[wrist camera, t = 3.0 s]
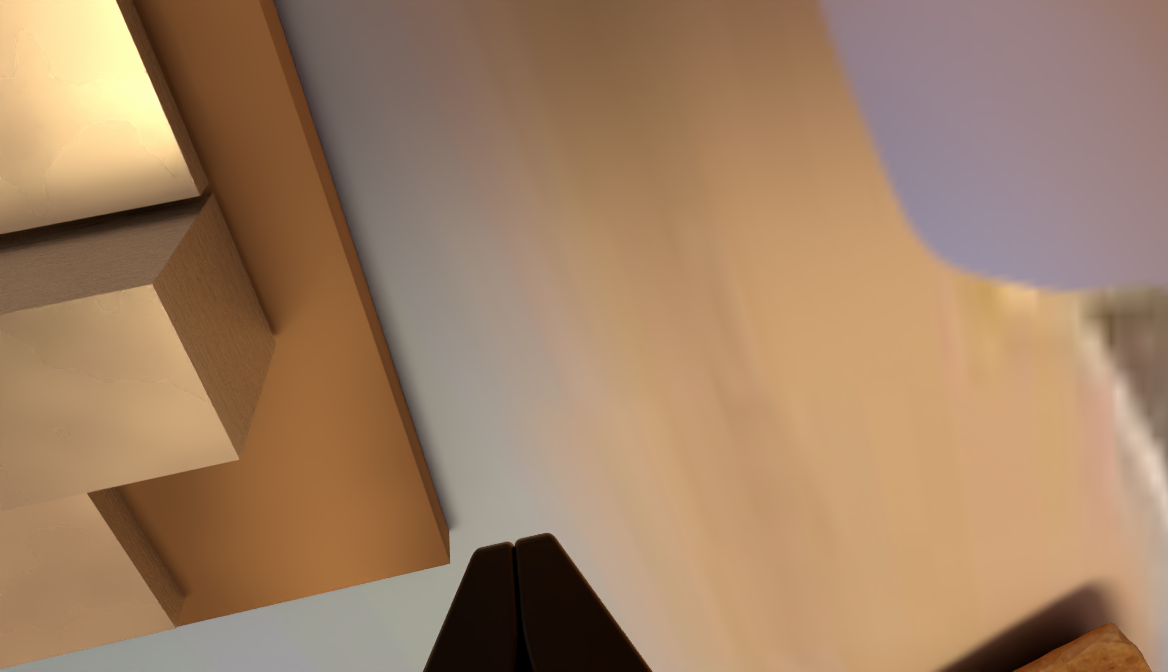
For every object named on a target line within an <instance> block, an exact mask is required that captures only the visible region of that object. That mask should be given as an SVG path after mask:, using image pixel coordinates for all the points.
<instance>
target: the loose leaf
mask: <svg viewBox="0 0 1168 672" xmlns="http://www.w3.org/2000/svg"><path fill="white" fill-rule="evenodd" d="M208 184H209V182H208V180H207V177H206V175H205V173H204V170H203V168H202V165H201V163H200V161H199V158H198V156H197V154H196V151H195V149H194V146H193V144H192V142H191V139H190V137H189V135H188V132H187V130H186V127H185V125H184V123H183V120H182V118H181V116H180V113H179V111H178V108H177V106H176V104H175V101H174V99H173V97H172V94H171V92H170V89H169V87H168V85H167V82H166V80H165V78H164V75H163V73H162V70H161V68H160V66H159V63H158V61H157V59H156V56H155V54H154V51H153V49H152V47H151V44H150V42H149V40H148V37H147V35H146V32H145V30H144V28H143V25H142V23H141V21H140V18H139V16H138V13H137V11H136V9H135V6H134V4H133V2H132V0H0V512H1V511H5V510H10V509H15V508H19V507H24V506H28V505H33V504H38V503H42V502H47V501H51V500H56V499H61V498H65V497H70V496H74V495H79V494H84V493H88V492H93V491H97V490H102V489H107V488H111V487H116V486H120V485H125V484H130V483H134V482H139V481H143V480H148V479H153V478H157V477H162V476H166V475H171V474H176V473H180V472H185V471H189V470H194V469H199V468H203V467H208V466H213V465H217V464H222V463H226V462H231V461H236V460H240V457H241V454H242V451H243V448H244V445H245V442H246V438H247V435H248V432H249V429H250V426H251V423H252V420H253V416H254V413H255V410H256V407H257V404H258V401H259V398H260V395H261V391H262V388H263V385H264V382H265V379H266V376H267V373H268V369H269V366H270V363H271V360H272V357H273V354H274V351H275V347H276V341H275V339H274V336H273V334H272V332H271V329H270V327H269V325H268V322H267V320H266V317H265V315H264V313H263V310H262V308H261V306H260V303H259V301H258V298H257V296H256V294H255V291H254V289H253V287H252V284H251V282H250V279H249V277H248V275H247V272H246V270H245V268H244V265H243V263H242V260H241V258H240V256H239V253H238V251H237V249H236V246H235V244H234V241H233V239H232V237H231V234H230V232H229V230H228V227H227V225H226V222H225V220H224V218H223V215H222V213H221V211H220V208H219V206H218V203H217V201H216V199H215V196H214V194H213V193H209V194H204V195H201V194H202V193H203V191H204V190H205V188H206V187H207V185H208Z"/></svg>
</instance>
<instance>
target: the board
mask: <svg viewBox="0 0 1168 672" xmlns="http://www.w3.org/2000/svg"><path fill="white" fill-rule="evenodd" d="M132 2H133V4H134V6H135V9H136V11H137V13H138V16H139V18H140V21H141V23H142V25H143V28H144V30H145V32H146V35H147V37H148V40H149V42H150V44H151V47H152V49H153V51H154V54H155V56H156V59H157V61H158V63H159V66H160V68H161V70H162V73H163V75H164V78H165V80H166V82H167V85H168V87H169V89H170V92H171V94H172V97H173V99H174V101H175V104H176V106H177V108H178V111H179V113H180V116H181V118H182V120H183V123H184V125H185V127H186V130H187V132H188V135H189V137H190V139H191V142H192V144H193V146H194V149H195V151H196V154H197V156H198V158H199V161H200V163H201V165H202V168H203V170H204V173H205V175H206V177H207V180H208V182H209V184H208V185H207V187H206V188H205V190H204V191H203V193H202V194H201V195H204V194H209V193H213V194H214V196H215V199H216V201H217V203H218V206H219V208H220V211H221V213H222V215H223V218H224V220H225V222H226V225H227V227H228V230H229V232H230V234H231V237H232V239H233V241H234V244H235V246H236V249H237V251H238V253H239V256H240V258H241V260H242V263H243V265H244V268H245V270H246V272H247V275H248V277H249V279H250V282H251V284H252V287H253V289H254V291H255V294H256V296H257V298H258V301H259V303H260V306H261V308H262V310H263V313H264V315H265V317H266V320H267V322H268V325H269V327H270V329H271V332H272V334H273V336H274V339H275V341H276V347H275V351H274V354H273V357H272V360H271V363H270V366H269V369H268V373H267V376H266V379H265V382H264V385H263V388H262V391H261V395H260V398H259V401H258V404H257V407H256V410H255V413H254V416H253V420H252V423H251V426H250V429H249V432H248V435H247V438H246V442H245V445H244V448H243V451H242V454H241V457H240V460H236V461H231V462H226V463H222V464H217V465H213V466H208V467H203V468H199V469H194V470H189V471H185V472H180V473H176V474H171V475H166V476H162V477H157V478H153V479H148V480H143V481H139V482H134V483H130V484H125V485H120V486H116V487H117V489H118V490H119V492H120V493H121V495H122V497H123V498H124V500H125V501H126V503H127V505H128V506H129V508H130V509H131V511H132V513H133V514H134V516H135V517H136V519H137V520H138V522H139V524H140V525H141V527H142V528H143V530H144V532H145V533H146V535H147V536H148V538H149V540H150V541H151V543H152V544H153V546H154V548H155V549H156V551H157V552H158V554H159V555H160V557H161V559H162V560H163V562H164V563H165V565H166V567H167V568H168V570H169V571H170V573H171V575H172V576H173V578H174V579H175V581H176V583H177V584H178V586H179V587H180V589H181V591H182V592H183V594H184V595H185V597H186V599H185V602H184V605H183V608H182V611H181V614H180V617H179V620H178V623H177V626H176V627H178V626H182V625H187V624H191V623H195V622H200V621H204V620H208V619H212V618H217V617H221V616H225V615H230V614H234V613H238V612H243V611H247V610H251V609H256V608H260V607H264V606H269V605H273V604H277V603H282V602H286V601H290V600H295V599H299V598H303V597H308V596H312V595H316V594H321V593H325V592H329V591H334V590H338V589H342V588H347V587H351V586H355V585H359V584H364V583H368V582H372V581H377V580H381V579H385V578H390V577H394V576H398V575H403V574H407V573H411V572H416V571H420V570H424V569H429V568H433V567H437V566H442V565H446V564H450V545H449V531H448V528H447V525H446V522H445V519H444V516H443V513H442V510H441V507H440V504H439V501H438V498H437V495H436V492H435V489H434V486H433V483H432V480H431V477H430V474H429V471H428V467H427V464H426V461H425V458H424V455H423V452H422V449H421V446H420V443H419V440H418V437H417V434H416V431H415V428H414V425H413V422H412V419H411V416H410V413H409V410H408V407H407V404H406V401H405V398H404V395H403V392H402V389H401V386H400V383H399V380H398V377H397V374H396V371H395V368H394V364H393V361H392V358H391V355H390V352H389V349H388V346H387V343H386V340H385V337H384V334H383V331H382V328H381V325H380V322H379V319H378V316H377V313H376V310H375V307H374V304H373V301H372V298H371V295H370V292H369V289H368V286H367V283H366V280H365V277H364V274H363V271H362V268H361V264H360V261H359V258H358V255H357V252H356V249H355V246H354V243H353V240H352V237H351V234H350V231H349V228H348V225H347V222H346V219H345V216H344V213H343V210H342V207H341V204H340V201H339V198H338V195H337V192H336V189H335V186H334V183H333V180H332V177H331V174H330V171H329V168H328V164H327V161H326V158H325V155H324V152H323V149H322V146H321V143H320V140H319V137H318V134H317V131H316V128H315V125H314V122H313V119H312V116H311V113H310V110H309V107H308V104H307V101H306V98H305V95H304V92H303V89H302V86H301V83H300V80H299V77H298V74H297V71H296V68H295V65H294V61H293V58H292V55H291V52H290V49H289V46H288V43H287V40H286V37H285V34H284V31H283V28H282V25H281V22H280V19H279V16H278V13H277V10H276V7H275V4H274V1H273V0H132Z"/></svg>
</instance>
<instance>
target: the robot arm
mask: <svg viewBox="0 0 1168 672" xmlns="http://www.w3.org/2000/svg"><path fill="white" fill-rule="evenodd" d="M423 672H652V670H651V669H650V667H649V666H648V665H647V663H646V662H645V661H644V659H643V658H642V656H641V655H640V654H639V652H638V651H637V650H636V648H635V647H634V645H633V644H632V643H631V641H630V640H629V638H628V637H627V636H626V634H625V633H624V632H623V630H622V629H621V627H620V626H619V625H618V623H617V622H616V621H615V619H614V618H613V616H612V615H611V614H610V612H609V611H608V609H607V608H606V607H605V605H604V604H603V603H602V601H601V600H600V598H599V597H598V596H597V594H596V593H595V591H594V590H593V589H592V587H591V586H590V585H589V583H588V582H587V580H586V579H585V578H584V576H583V575H582V574H581V572H580V571H579V569H578V568H577V567H576V565H575V564H574V562H573V561H572V560H571V558H570V557H569V556H568V554H567V553H566V551H565V550H564V549H563V547H562V546H561V545H560V543H559V542H558V540H557V539H556V538H555V537H554V536H553V535H552V534H551V533H543V534H539V535H534V536H530V537H525V538H521V539H518V540H517V541H516V543H515V547H514V545H513V544H512V543H510V542H503V543H499V544H494V545H490V546H485V547H481V548H478V549H477V550H476V551H475V552H474V553H473V555H472V557H471V559H470V562H469V564H468V566H467V569H466V571H465V574H464V576H463V578H462V581H461V583H460V585H459V588H458V590H457V592H456V595H455V597H454V600H453V602H452V604H451V607H450V609H449V611H448V614H447V616H446V618H445V621H444V623H443V625H442V628H441V630H440V633H439V635H438V637H437V640H436V642H435V644H434V647H433V649H432V651H431V654H430V656H429V659H428V661H427V663H426V666H425V668H424V670H423Z"/></svg>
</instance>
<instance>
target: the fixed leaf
mask: <svg viewBox="0 0 1168 672" xmlns="http://www.w3.org/2000/svg"><path fill="white" fill-rule="evenodd" d="M185 599H186V597H185V595H184V594H183V592H182V591H181V589H180V587H179V586H178V584H177V583H176V581H175V579H174V578H173V576H172V575H171V573H170V571H169V570H168V568H167V567H166V565H165V563H164V562H163V560H162V559H161V557H160V555H159V554H158V552H157V551H156V549H155V548H154V546H153V544H152V543H151V541H150V540H149V538H148V536H147V535H146V533H145V532H144V530H143V528H142V527H141V525H140V524H139V522H138V520H137V519H136V517H135V516H134V514H133V513H132V511H131V509H130V508H129V506H128V505H127V503H126V501H125V500H124V498H123V497H122V495H121V493H120V492H119V490H118V489H117V487H111V488H107V489H102V490H97V491H93V492H88V493H84V494H79V495H74V496H70V497H65V498H61V499H56V500H51V501H47V502H42V503H38V504H33V505H28V506H24V507H19V508H15V509H10V510H5V511H1V512H0V669H1V668H6V667H10V666H14V665H19V664H23V663H27V662H32V661H36V660H40V659H45V658H49V657H53V656H58V655H62V654H66V653H70V652H75V651H79V650H83V649H88V648H92V647H96V646H101V645H105V644H109V643H114V642H118V641H122V640H127V639H131V638H135V637H140V636H144V635H148V634H153V633H157V632H161V631H166V630H170V629H174V628H176V626H177V623H178V620H179V617H180V614H181V611H182V608H183V605H184V602H185Z"/></svg>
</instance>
